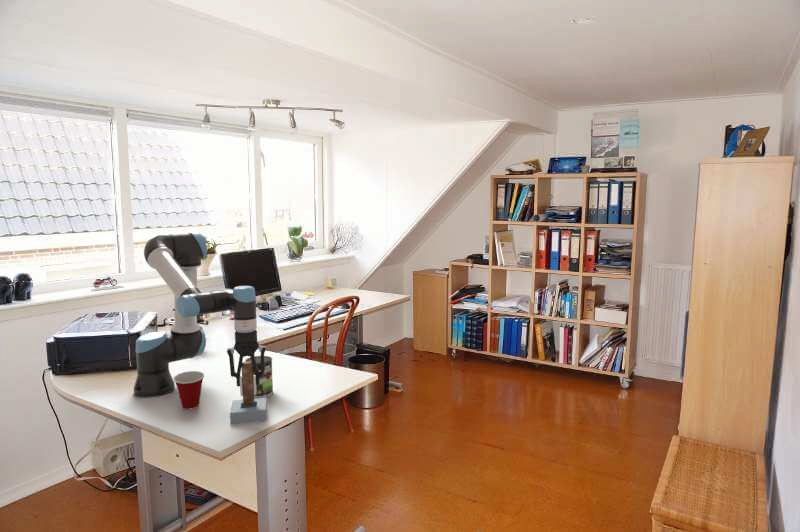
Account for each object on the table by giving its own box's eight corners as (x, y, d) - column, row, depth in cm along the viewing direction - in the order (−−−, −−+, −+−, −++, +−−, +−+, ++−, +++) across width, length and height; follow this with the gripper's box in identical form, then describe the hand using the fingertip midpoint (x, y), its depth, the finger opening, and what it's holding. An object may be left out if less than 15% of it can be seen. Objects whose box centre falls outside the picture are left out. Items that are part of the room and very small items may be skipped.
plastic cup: (173, 413, 193) (171, 381, 191) (176, 403, 203) (174, 372, 202) (205, 410, 196) (203, 378, 195) (206, 399, 206) (204, 369, 205)
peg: (242, 406, 188) (241, 365, 186) (243, 402, 192) (241, 361, 190) (254, 405, 189) (252, 364, 187) (255, 401, 193) (253, 361, 191)
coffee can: (278, 391, 215) (277, 358, 213) (259, 400, 206) (258, 364, 204) (260, 387, 220) (259, 354, 218) (241, 395, 211) (239, 360, 210)
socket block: (230, 424, 184) (229, 412, 183) (233, 410, 195) (232, 400, 195) (266, 420, 186) (265, 409, 186) (266, 407, 198) (266, 397, 198)
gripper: (219, 334, 182) (222, 400, 184) (270, 331, 185) (272, 395, 188) (221, 329, 189) (224, 392, 192) (270, 326, 193) (273, 388, 195)
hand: (248, 394), depth 190 cm, fingers closed on peg, 4 cm apart
